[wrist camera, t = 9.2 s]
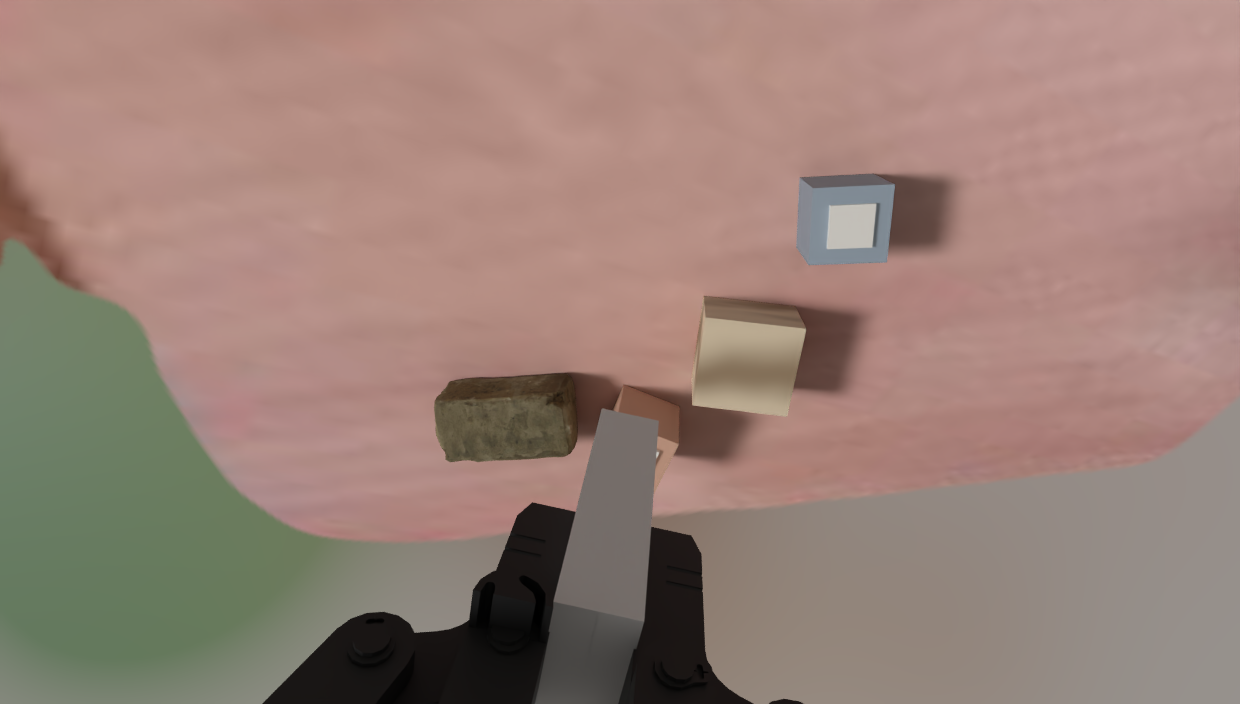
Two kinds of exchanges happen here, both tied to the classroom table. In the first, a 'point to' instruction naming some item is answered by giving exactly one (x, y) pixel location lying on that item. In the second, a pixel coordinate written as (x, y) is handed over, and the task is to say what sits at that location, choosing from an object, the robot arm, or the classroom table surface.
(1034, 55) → the classroom table surface
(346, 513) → the classroom table surface
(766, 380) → the oak block
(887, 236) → the slate block
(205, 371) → the classroom table surface
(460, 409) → the stone block
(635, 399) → the terracotta block
